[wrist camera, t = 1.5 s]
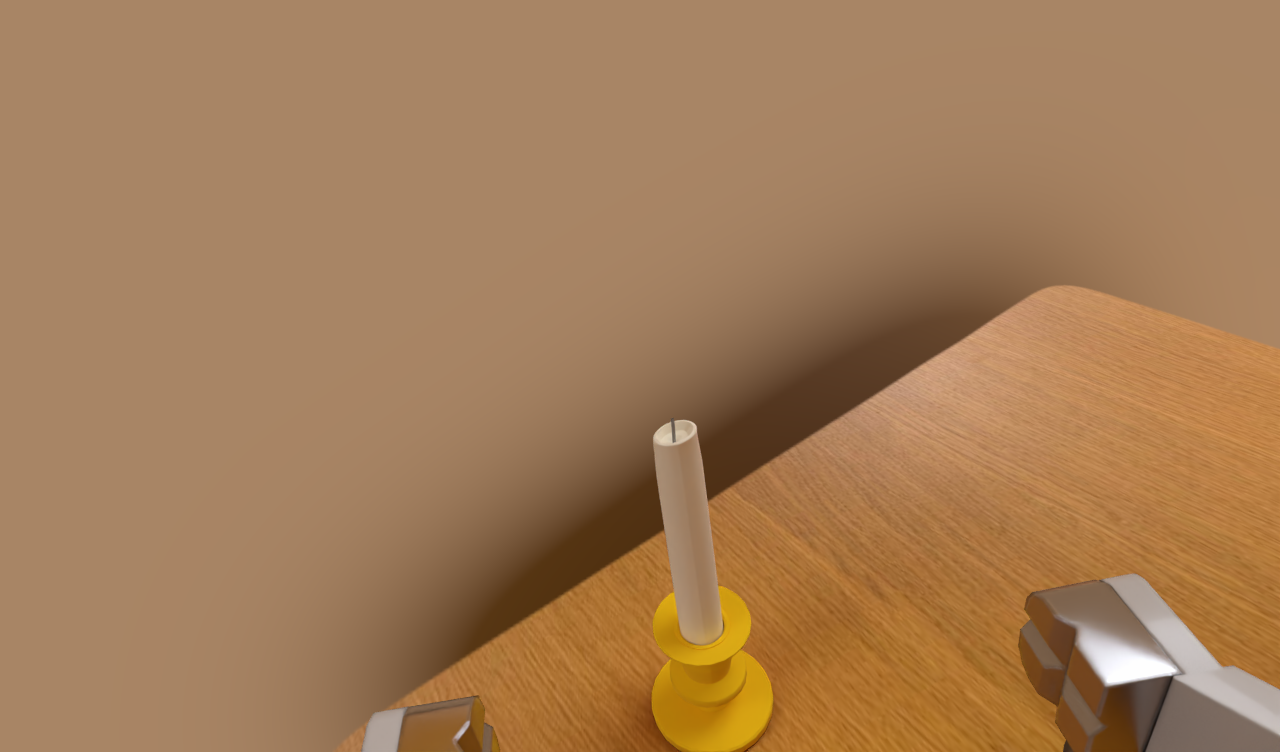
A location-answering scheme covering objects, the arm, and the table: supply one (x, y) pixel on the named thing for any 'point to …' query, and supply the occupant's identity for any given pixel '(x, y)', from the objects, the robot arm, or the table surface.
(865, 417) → the table surface
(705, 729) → the candle
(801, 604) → the table surface
